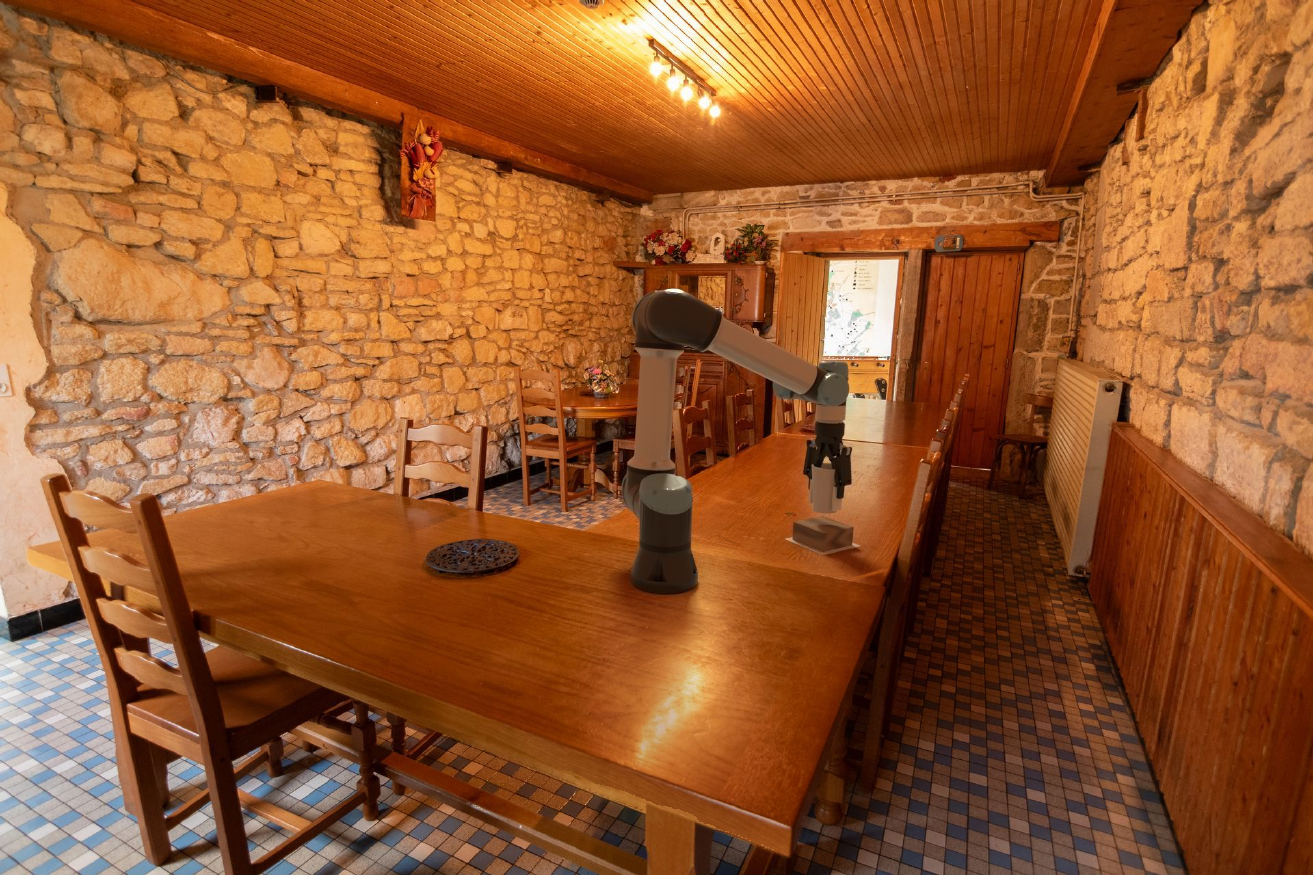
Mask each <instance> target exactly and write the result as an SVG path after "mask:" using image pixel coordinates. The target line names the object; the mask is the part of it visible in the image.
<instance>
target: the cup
mask: <svg viewBox="0 0 1313 875" xmlns="http://www.w3.org/2000/svg"><path fill="white" fill-rule="evenodd" d="M834 474H835V469H832V465H831V462H829V463H828V462H823V463H822V466H821V468H817V467H814V464H812V493H813V503H812V507H811V508H812V511H813V512H816V513H819V514H826V515H827V514H828V515H831V514H836V513H837V512H838V510H837V511H832V498H833V486H834V485H836V483H835V478H834ZM840 482H841V481H840Z"/></svg>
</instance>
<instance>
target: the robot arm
mask: <svg viewBox="0 0 1313 875" xmlns="http://www.w3.org/2000/svg"><path fill="white" fill-rule="evenodd" d="M631 323H632V328H633V329H634V332H635V336H634V337H635V338H634V349H635V351H636V352H637V353H638V354H639V356H640V363H639V373H638V374H639V375H638V376H639V377H638V391H637V392H638V394H637V406H636V409H637V410H636V423H635V424H636V425H635V438H634V439H635V440H634V451H633V452H634V454H633V457H631V458H630V459H629V460H628V461H627V464H626V465H627V467H626V474H625V475H624V477H623V479H622V482H621V497H622V499H623V501H624V504H625V505H626V507H627V509H628V510H629V511H630V512H631V513H632V514H634V516H635V517H636V518H637V519H638V520H639V524H638V525H639V528H638V529H639V531H638V535H639V536H638V537H639V538H638V539H639V540H638V545H639V546H638V549H637V552H636V555H635V558H634V561H633V565H632V567H631V570H630V582H631V584H632V585H633V586H634V587H635V588H637V589H639V590H642V591H644V592H648V593H652V594H662V595H669V594H670V595H671V594H679V593H683V592H686V591H689V590H692V589H693V588H695V587H696V586H697V584H698V583H699V581H698V580H699V571H698V568H697V565H696V561H695V557H694V554H693V551H692V528H693V527H692V524H693V521H692V520H693V503H694V494H693V487H692V484H691V482H690V481H689V480H688V479H686V478H685V477H683V476H680V475H676V464H675V463H674V462H673V460H671V443H672V433H673V432H672V431H673V418H674V405H675V392H676V390H675V389H676V379H677V378H676V377H677V366H678V365H677V364H678V363H677V362H678V359H679V357H680V356H681V355H682V354H683V353H684V352H685V346H686V347H690V348H693V349H695V350H697V351H699V352H701V353H704V352H706V351H710V352H712V353H714V354H716V355H718V356H720V357H722V358H724V359H726V360H728V361H730V362H732V363H735V364H736V365H739V366H740V367H743V368H744V369H747V370H749V371H751V372H752V373H755V374H757V375H759V376H761V377H763V378H765V379H768V380H769V381H771V382H772V390H773V393H774V395H775V397H776V398H778V399H779V400H788V401H789V400H798V401H799V400H800V401H804V402H807V403H814V404H815V405H816V406H815V415H814V416H815V419H816V421H815V422H814V432H813V433H814V435H815V438H810V439H807V440H805V442H806V450H805V459H804V464H803V470H802V474H803V475H804V476H807V479H808V486H807V487H808V490H809V496H808V503H809V504H813V493H812V464H814V467H817V468H821V466H822V463H824V460H825V458H828V461H829V463H831V465H832V469H835V474H834V478H835V483H836V485H834V486H833V498H832V511H837V512H838V511H841V510H842V502H843V499H844V498H845V487H847V486H850V485H851V486H852V484H853V480H852V459H851V458H852V452H853V446H846V445H844V442H843V439H844V436H845V433H846V432H845V431H846V429H845V428H846V423H845V422H844V421H846V412H847V399H848V396H849V394H850V384H849V379H850V378H849V364H848V362H846V361H842V360H821V361H819V362H818V365H815V364H814V363H812V362H810V361H808V360H805V359H804V358H802V357H800V356H798V355H796V354H794V353H792V352H790V351H788V350H787V349H784V348H782V347H780V346H779V345H777V344H775V343H773V342H771V341H769V340H767V339H765V338H763V337H761V336H759V335H757V334H755V333H753V332H751V331H750V330H747V329H746V328H744V327H742V326H740V325H738V324H736V323H734V322H733V321H730V320H728V319H726V318H725V317H724V314H723V311H721V310H720V309H717V308H715V307H714V306H712V305H710V304H709V303H706V302H705V301H703V299H700V298H698V297H696V296H694V295H692V294H691V293H689V292H686V291H684V290H682V289H679V288H669V289H662V290H655V291H652V292H649V293H647V294H645V295H644V296H642V297H641V298H640V299H639V300H638V302H637V303H636V304H635V306H634V308H633V310H632V314H631ZM840 481H841V482H840Z"/></svg>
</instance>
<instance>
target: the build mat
mask: <svg viewBox="0 0 1313 875" xmlns="http://www.w3.org/2000/svg"><path fill="white" fill-rule="evenodd" d="M792 538H793V536H791V537H787V538H785V540H786V541H789V542H791V543H793V544H796V545H798V546H800V547H802V548H805V549H807V550H811V551H812V552H814V553H816V554H817V553H818V554H819V555H821V556H824V555H828V554H829V555H830V554H834V553H837V552H841V551H845V550H850V549H854V548H859V547H861V545H859V544H857V543H854V542H853V543H852V545H850V546H846V547H842V548H838V549H834V550H830V551H825V552H821V551H819V550H817V549H814V548H812V547H809V546H807V545H804V544H802V543H800V542H797V541H795V540H792Z"/></svg>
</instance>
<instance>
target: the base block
mask: <svg viewBox="0 0 1313 875" xmlns="http://www.w3.org/2000/svg"><path fill="white" fill-rule="evenodd" d="M792 537H793V538H792V540H795V541H797V542H800V543H802V544H804V545H807V546H809V547H812V548H814V549H817V550H819V551H821V552H825V551H830V550H834V549H838V548H842V547H846V546H850V545H852V543H854V541H853V540H854V526H853V525H850V524H847V523H844V522H841V521H838V520H835V519H832V518H829V517H826V516H824V515H822V516H821V515H820V516H817V517H810V518H805V519H801V520H796V521H793V524H792Z"/></svg>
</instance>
